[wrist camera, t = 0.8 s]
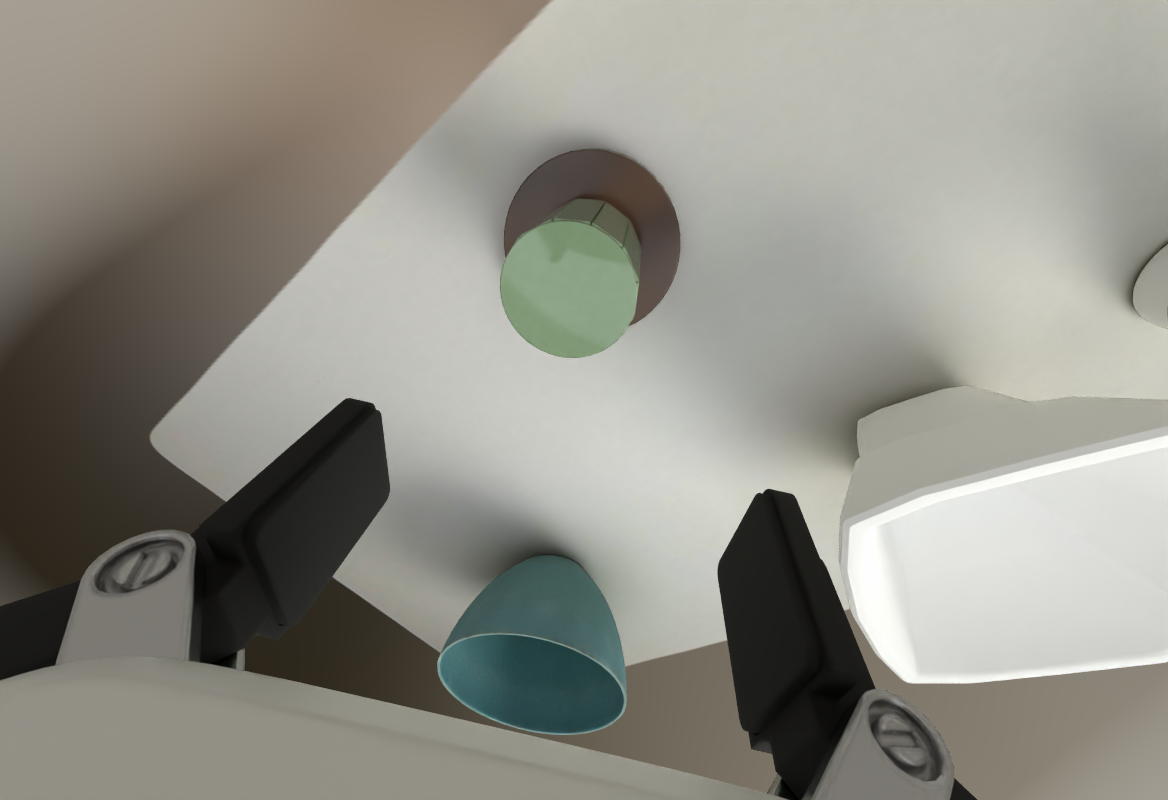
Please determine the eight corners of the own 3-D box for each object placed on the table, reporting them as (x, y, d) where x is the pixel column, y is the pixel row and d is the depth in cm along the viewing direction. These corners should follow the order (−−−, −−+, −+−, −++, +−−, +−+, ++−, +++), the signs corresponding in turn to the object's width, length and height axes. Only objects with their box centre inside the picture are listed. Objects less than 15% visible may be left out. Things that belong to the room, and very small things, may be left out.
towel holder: (477, 203, 29) (403, 231, 21) (638, 108, 25) (633, 93, 17) (558, 348, 34) (526, 421, 26) (702, 289, 30) (724, 351, 22)
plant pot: (452, 569, 52) (403, 676, 42) (541, 497, 44) (507, 609, 33) (564, 637, 57) (545, 748, 47) (664, 584, 48) (668, 706, 38)
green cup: (517, 229, 27) (473, 260, 20) (613, 178, 25) (600, 192, 18) (565, 322, 30) (541, 375, 23) (656, 283, 28) (658, 329, 21)
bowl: (755, 387, 34) (812, 519, 22) (1060, 273, 27) (1377, 377, 15) (818, 536, 41) (885, 694, 30) (1069, 477, 35) (1286, 652, 23)
